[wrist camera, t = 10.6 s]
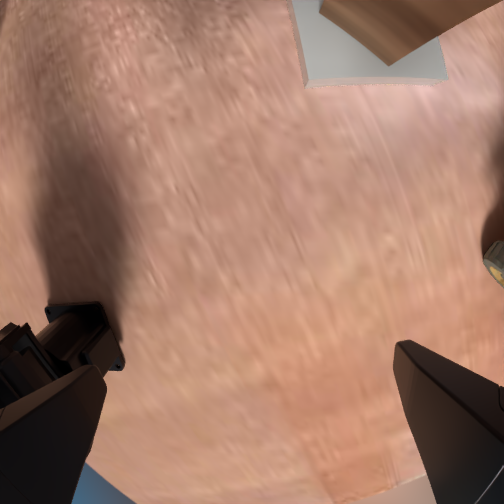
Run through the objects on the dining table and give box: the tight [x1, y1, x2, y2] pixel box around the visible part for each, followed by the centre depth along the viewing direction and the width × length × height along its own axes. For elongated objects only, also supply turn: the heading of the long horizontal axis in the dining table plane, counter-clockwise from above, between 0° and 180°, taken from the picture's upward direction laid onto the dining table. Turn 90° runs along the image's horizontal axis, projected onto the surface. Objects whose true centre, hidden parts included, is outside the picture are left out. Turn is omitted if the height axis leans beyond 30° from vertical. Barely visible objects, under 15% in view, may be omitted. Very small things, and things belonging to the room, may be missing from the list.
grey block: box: [286, 0, 448, 89], centre depth 15 cm, size 9×9×3 cm
